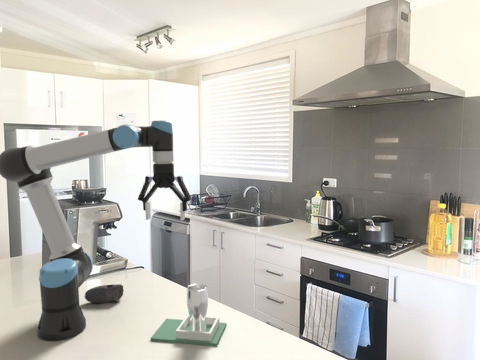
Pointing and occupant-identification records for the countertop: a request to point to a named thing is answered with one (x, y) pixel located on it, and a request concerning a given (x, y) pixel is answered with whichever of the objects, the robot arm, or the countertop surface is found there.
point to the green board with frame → (189, 332)
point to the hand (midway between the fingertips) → (165, 219)
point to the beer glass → (197, 306)
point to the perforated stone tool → (104, 293)
